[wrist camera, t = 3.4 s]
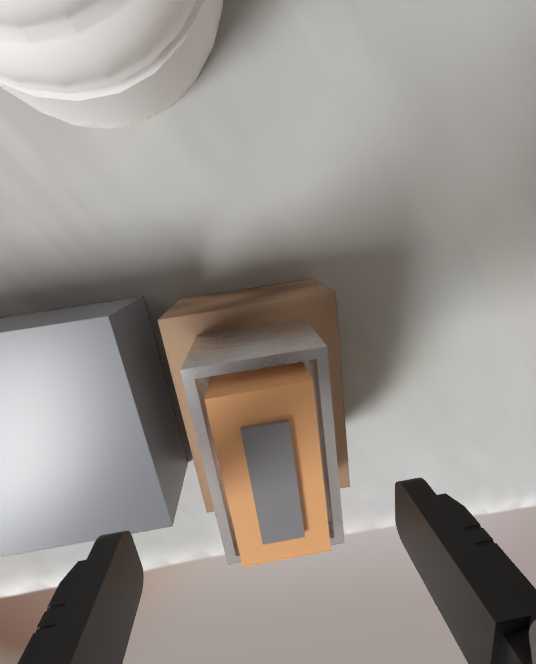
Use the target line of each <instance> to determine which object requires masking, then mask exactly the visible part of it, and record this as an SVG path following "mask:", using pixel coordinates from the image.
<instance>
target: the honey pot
mask: <svg viewBox="0 0 536 664" xmlns="http://www.w3.org/2000/svg"><path fill="white" fill-rule="evenodd" d="M222 9H223V0H0V86H1V87H2V88H4V89H5V90H7V91H8V92H10V93H11V94H13V95H15V96H16V97H18V98H19V99H21V100H22V101H24V102H26V103H27V104H29V105H30V106H32V107H33V108H35V109H36V110H38V111H40V112H42V113H45V114H47V115H50V116H53V117H55V118H58V119H61V120H63V121H66V122H68V123H71V124H74V125H78V126H88V127H99V128H109V129H111V128H116V127H121V126H126V125H132V124H137V123H142V122H144V121H146V120H148V119H150V118H152V117H153V116H155V115H157V114H159V113H161V112H162V111H164V110H166V109H168V108H170V107H171V106H173V105H174V103H175V102H176V101H177V100H178V99H179V98H180V97H181V96H182V95H183V94H184V93H185V92H186V91H187V90H188V89H189V88H190V87H191V86H192V84H193V83H194V82H195V81H196V80H197V78H198V76H199V74H200V72H201V70H202V68H203V66H204V64H205V62H206V60H207V59H208V57H209V55H210V53H211V51H212V49H213V46H214V42H215V38H216V34H217V30H218V26H219V21H220V17H221V13H222Z"/></svg>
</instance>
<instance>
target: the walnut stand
mask: <svg viewBox="0 0 536 664" xmlns="http://www.w3.org/2000/svg"><path fill="white" fill-rule="evenodd" d="M300 319H305V320H306V321H307V322H308V323H309V324H310V326H311V327H312V328H313V329H314V331H315V332H316V333H317V334H318V336H319V337H320V338H321V339H322V340H323V342H324V343H325V344H326V345H327V350H328V361H329V373H330V384H331V396H332V407H333V418H334V430H335V441H336V452H337V464H338V475H339V487H340V488H346V487H350V481H349V467H348V454H347V441H346V428H345V414H344V401H343V388H342V374H341V361H340V348H339V334H338V321H337V308H336V295H335V292H334V291H332V290H330V289H328V288H327V287H325V286H323V285H321V284H319V283H318V282H316V281H314V280H312V279H307V280H301V281H294V282H288V283H281V284H275V285H268V286H262V287H255V288H249V289H242V290H236V291H229V292H223V293H216V294H210V295H203V296H197V297H190V298H184V299H179V300H178V301H177V302H176V303H175V304H174V305H173V306H172V307H171V308H170V309H169V310H167V311H166V312H165V313H164V314H163V315H162V316H161V317H160V318H159V319H158V324H159V328H160V332H161V336H162V340H163V344H164V348H165V351H166V355H167V359H168V363H169V367H170V371H171V375H172V379H173V383H174V386H175V390H176V394H177V398H178V402H179V406H180V410H181V414H182V417H183V421H184V425H185V429H186V433H187V437H188V441H189V445H190V449H191V452H192V456H193V460H194V464H195V468H196V472H197V476H198V480H199V484H200V487H201V491H202V495H203V499H204V503H205V507H206V511H207V513H208V512H213V511H215V510H214V506H213V502H212V498H211V494H210V490H209V486H208V482H207V478H206V474H205V470H204V466H203V461H202V457H201V453H200V449H199V445H198V441H197V437H196V433H195V429H194V425H193V421H192V417H191V413H190V409H189V405H188V401H187V397H186V393H185V389H184V385H183V381H182V376H181V372H180V369H181V367H182V365H183V363H184V360H185V358H186V356H187V354H188V352H189V350H190V348H191V346H192V344H193V342H194V339H195V337H196V336H199V335H206V334H212V333H218V332H225V331H231V330H237V329H243V328H250V327H256V326H262V325H269V324H275V323H281V322H288V321H294V320H300Z"/></svg>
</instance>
